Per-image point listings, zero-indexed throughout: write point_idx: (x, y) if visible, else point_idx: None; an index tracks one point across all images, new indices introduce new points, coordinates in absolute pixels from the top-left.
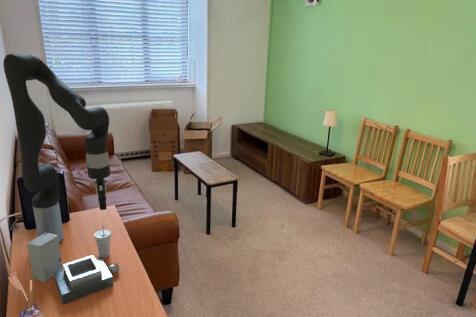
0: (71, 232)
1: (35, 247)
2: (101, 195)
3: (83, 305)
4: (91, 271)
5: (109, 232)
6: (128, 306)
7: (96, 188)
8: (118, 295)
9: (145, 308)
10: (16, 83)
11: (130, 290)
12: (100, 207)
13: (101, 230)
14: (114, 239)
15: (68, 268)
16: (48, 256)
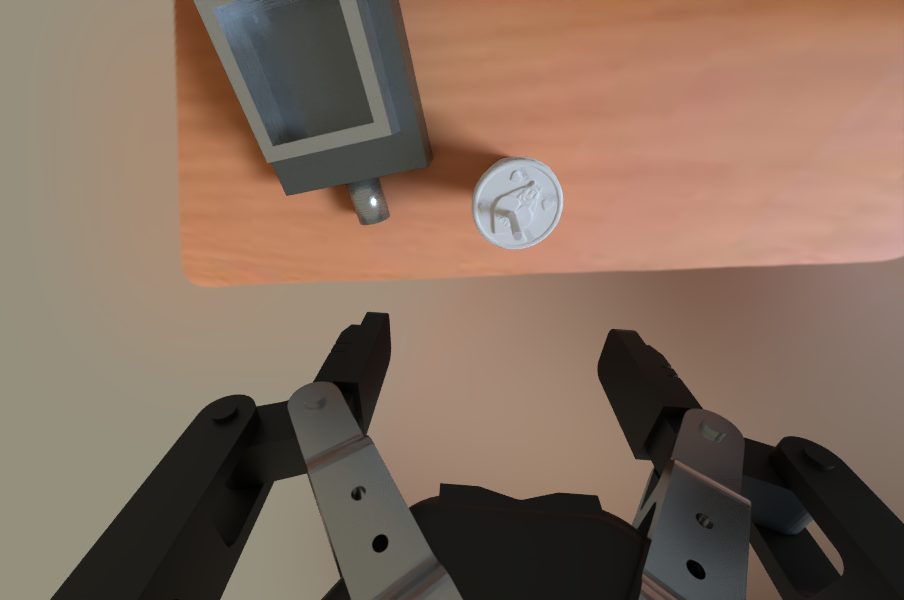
0: (821, 18)
1: None
2: (624, 381)
3: (211, 64)
4: (331, 114)
5: (515, 242)
6: (204, 215)
7: (346, 576)
8: (255, 195)
9: (196, 257)
10: None
11: (275, 233)
12: (362, 329)
13: (556, 206)
14: (598, 231)
15: None
16: None
